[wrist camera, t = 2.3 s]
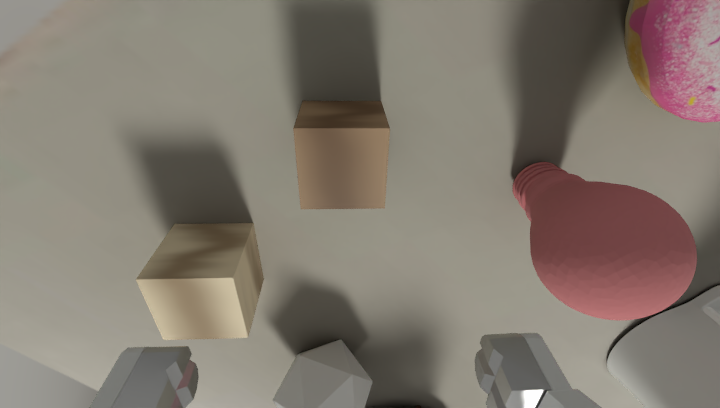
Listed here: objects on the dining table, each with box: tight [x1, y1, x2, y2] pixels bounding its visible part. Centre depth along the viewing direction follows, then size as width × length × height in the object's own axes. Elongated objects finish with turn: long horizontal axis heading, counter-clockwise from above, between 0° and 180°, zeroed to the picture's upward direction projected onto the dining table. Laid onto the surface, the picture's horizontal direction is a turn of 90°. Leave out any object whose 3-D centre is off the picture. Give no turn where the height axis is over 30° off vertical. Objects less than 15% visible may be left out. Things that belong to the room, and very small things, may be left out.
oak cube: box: [136, 223, 264, 340], centre depth 26 cm, size 6×6×6 cm
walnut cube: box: [293, 101, 390, 209], centre depth 21 cm, size 5×5×5 cm
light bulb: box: [513, 162, 697, 320], centre depth 21 cm, size 7×7×12 cm
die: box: [273, 339, 373, 408], centre depth 33 cm, size 8×9×10 cm
